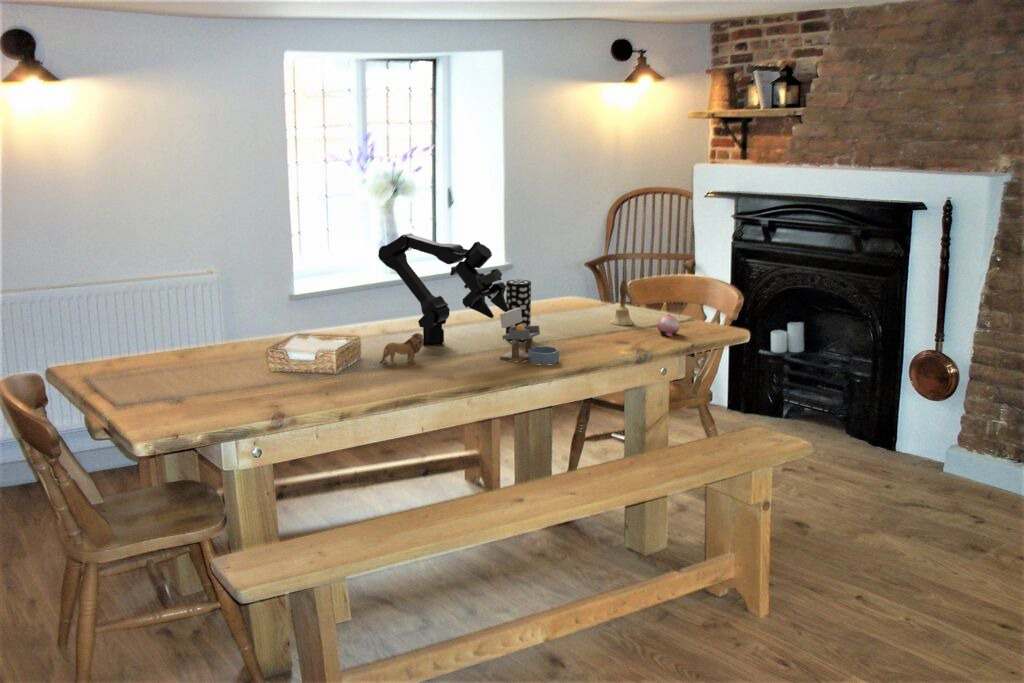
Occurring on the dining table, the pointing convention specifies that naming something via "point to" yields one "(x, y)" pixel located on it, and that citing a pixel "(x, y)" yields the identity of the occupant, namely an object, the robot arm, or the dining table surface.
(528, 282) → the white-spotted black cylinder
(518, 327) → the ball
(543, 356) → the blue bowl
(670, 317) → the piggy bank
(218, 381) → the dining table surface
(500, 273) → the robot arm
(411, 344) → the lion figurine
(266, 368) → the dining table surface
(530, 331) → the tipper
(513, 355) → the stand
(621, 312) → the hand bell
